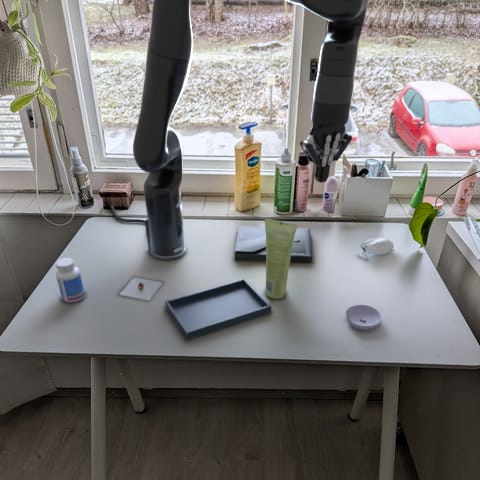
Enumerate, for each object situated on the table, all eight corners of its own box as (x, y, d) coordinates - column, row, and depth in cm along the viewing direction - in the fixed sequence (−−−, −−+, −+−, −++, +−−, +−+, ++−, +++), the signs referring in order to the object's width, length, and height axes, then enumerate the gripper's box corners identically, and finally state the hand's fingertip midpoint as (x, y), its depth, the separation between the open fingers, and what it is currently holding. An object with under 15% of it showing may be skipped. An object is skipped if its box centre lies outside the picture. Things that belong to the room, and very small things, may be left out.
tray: (244, 284, 126) (244, 278, 125) (271, 312, 117) (271, 305, 116) (165, 307, 118) (164, 301, 117) (187, 339, 109) (186, 333, 108)
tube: (282, 285, 126) (287, 214, 114) (291, 296, 122) (297, 224, 110) (262, 290, 124) (264, 218, 112) (269, 301, 121) (273, 228, 108)
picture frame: (234, 260, 135) (311, 263, 134) (234, 251, 134) (312, 254, 133) (238, 232, 148) (309, 235, 147) (238, 223, 146) (310, 226, 145)
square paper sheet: (162, 282, 127) (162, 276, 126) (148, 300, 121) (147, 294, 120) (134, 277, 129) (133, 271, 127) (119, 294, 123) (117, 288, 121)
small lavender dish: (351, 307, 119) (353, 301, 118) (384, 318, 116) (386, 311, 114) (339, 325, 113) (340, 319, 112) (373, 337, 110) (375, 330, 109)
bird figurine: (372, 268, 135) (398, 249, 138) (368, 246, 131) (395, 228, 134) (359, 263, 139) (384, 245, 142) (355, 242, 135) (381, 224, 138)
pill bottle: (89, 292, 123) (81, 258, 117) (77, 304, 119) (68, 270, 113) (70, 288, 125) (61, 254, 119) (57, 300, 121) (47, 265, 115)
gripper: (344, 89, 105) (332, 170, 116) (294, 96, 99) (286, 180, 110) (370, 98, 100) (354, 181, 111) (319, 105, 94) (308, 193, 105)
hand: (320, 181), depth 110 cm, fingers closed
